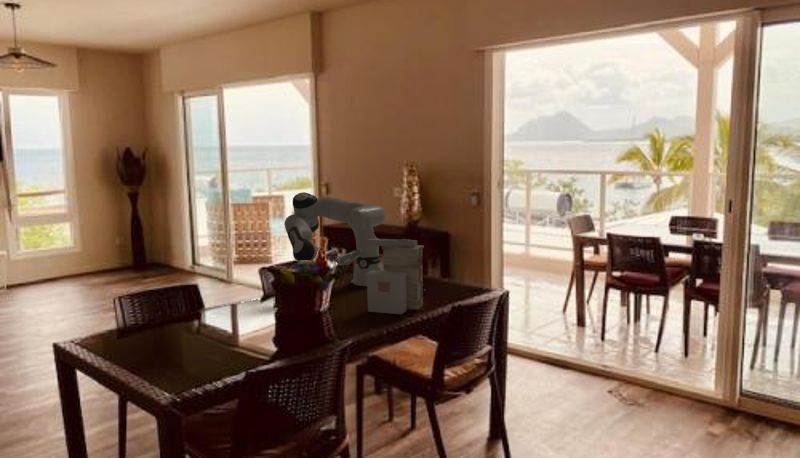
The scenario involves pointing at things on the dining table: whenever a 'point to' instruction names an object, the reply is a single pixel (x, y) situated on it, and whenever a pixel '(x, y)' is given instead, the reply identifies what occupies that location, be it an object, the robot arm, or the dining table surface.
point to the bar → (392, 242)
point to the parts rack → (386, 292)
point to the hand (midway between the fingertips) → (356, 252)
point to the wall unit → (407, 270)
